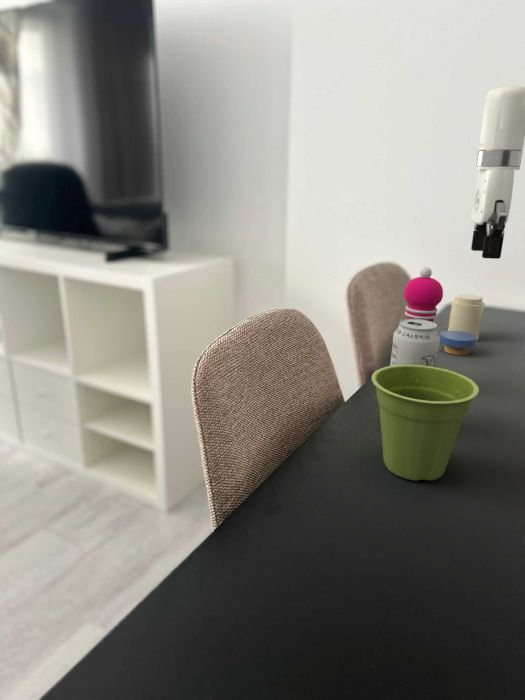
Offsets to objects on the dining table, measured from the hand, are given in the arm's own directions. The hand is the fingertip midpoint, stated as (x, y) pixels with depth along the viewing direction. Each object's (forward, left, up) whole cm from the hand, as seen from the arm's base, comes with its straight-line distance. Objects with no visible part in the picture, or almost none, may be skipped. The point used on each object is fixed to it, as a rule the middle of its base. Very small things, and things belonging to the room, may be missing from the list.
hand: (484, 254), depth 101 cm
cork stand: (+4, +3, -19) cm, 20 cm away
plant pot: (+25, +47, -20) cm, 56 cm away
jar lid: (+4, +3, -16) cm, 17 cm away
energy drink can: (+23, +36, -20) cm, 47 cm away
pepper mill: (+18, +21, -20) cm, 34 cm away
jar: (-1, -7, -19) cm, 21 cm away
